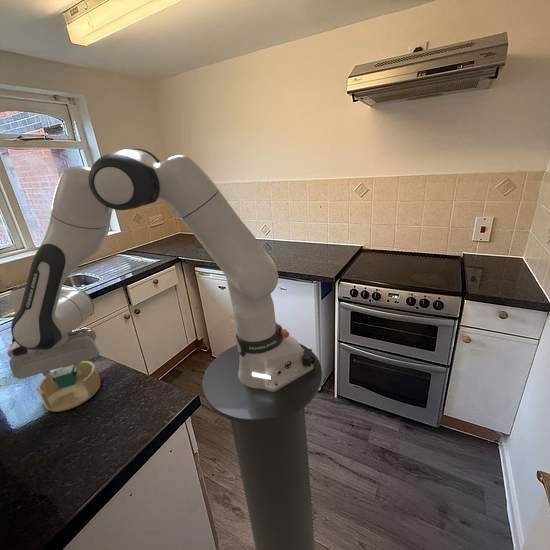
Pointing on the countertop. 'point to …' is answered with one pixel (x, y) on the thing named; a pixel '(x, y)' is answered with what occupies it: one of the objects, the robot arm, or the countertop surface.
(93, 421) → the countertop surface
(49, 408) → the tan scoop with handle
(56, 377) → the block
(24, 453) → the countertop surface
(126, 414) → the countertop surface
